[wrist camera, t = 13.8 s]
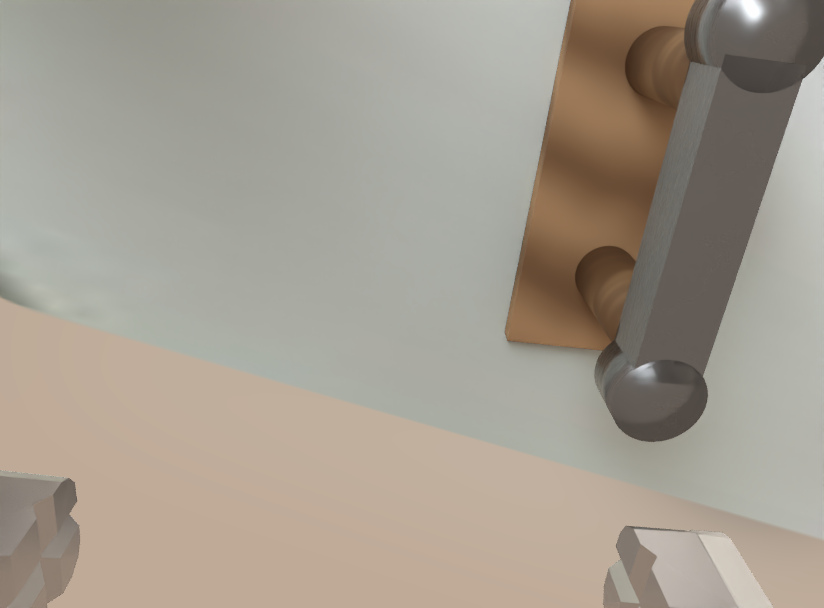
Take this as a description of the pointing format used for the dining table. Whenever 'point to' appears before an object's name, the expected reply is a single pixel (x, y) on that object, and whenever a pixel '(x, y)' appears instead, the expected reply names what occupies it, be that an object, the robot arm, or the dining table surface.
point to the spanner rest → (598, 169)
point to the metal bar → (705, 205)
